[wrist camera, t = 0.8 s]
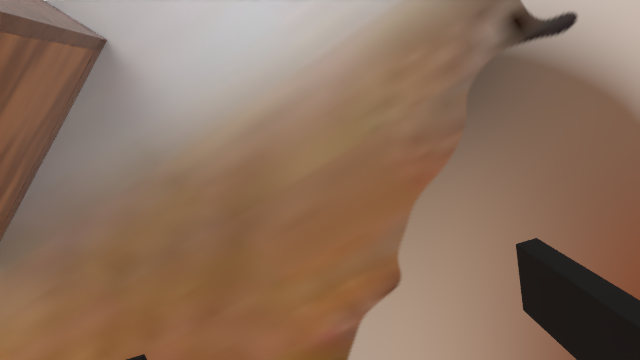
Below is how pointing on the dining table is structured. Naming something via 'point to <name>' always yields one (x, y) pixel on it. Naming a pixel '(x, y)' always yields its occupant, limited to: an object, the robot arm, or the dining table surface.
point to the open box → (36, 88)
